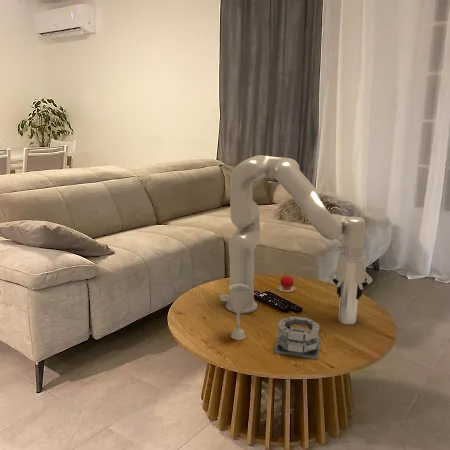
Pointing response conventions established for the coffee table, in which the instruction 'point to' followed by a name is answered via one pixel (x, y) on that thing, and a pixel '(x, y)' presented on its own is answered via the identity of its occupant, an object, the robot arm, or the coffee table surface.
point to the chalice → (238, 306)
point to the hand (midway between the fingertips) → (348, 296)
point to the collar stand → (298, 338)
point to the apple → (286, 284)
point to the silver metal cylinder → (349, 296)
